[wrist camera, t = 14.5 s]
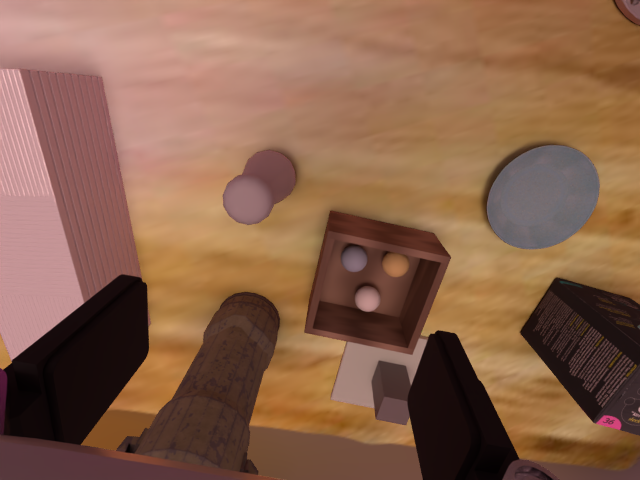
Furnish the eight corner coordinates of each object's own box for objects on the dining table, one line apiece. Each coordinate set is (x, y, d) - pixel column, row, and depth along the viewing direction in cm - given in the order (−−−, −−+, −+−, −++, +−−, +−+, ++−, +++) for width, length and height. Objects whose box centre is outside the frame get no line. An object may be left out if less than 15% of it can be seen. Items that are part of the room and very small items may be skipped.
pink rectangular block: (9, 75, 38) (-107, 67, 28) (103, 77, 38) (18, 68, 28) (80, 318, 50) (15, 372, 40) (151, 322, 50) (104, 377, 40)
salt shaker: (292, 143, 39) (271, 162, 27) (302, 191, 41) (287, 229, 29) (242, 153, 40) (201, 175, 28) (255, 200, 42) (222, 240, 30)
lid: (449, 339, 49) (468, 380, 41) (418, 410, 54) (430, 458, 47) (352, 319, 48) (354, 357, 41) (330, 393, 53) (329, 438, 46)
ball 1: (369, 244, 42) (371, 255, 39) (362, 267, 44) (364, 279, 41) (344, 238, 42) (344, 249, 39) (338, 261, 43) (337, 273, 41)
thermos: (288, 349, 50) (196, 808, 18) (207, 339, 50) (-33, 777, 18) (294, 297, 47) (193, 744, 14) (208, 286, 47) (-89, 705, 14)
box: (433, 233, 42) (451, 257, 36) (402, 320, 47) (412, 355, 41) (330, 210, 42) (328, 230, 35) (309, 300, 47) (304, 332, 40)
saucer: (501, 133, 38) (511, 135, 36) (605, 153, 38) (621, 156, 36) (465, 232, 42) (472, 239, 40) (559, 249, 43) (570, 257, 40)
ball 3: (410, 249, 42) (415, 260, 39) (402, 272, 44) (407, 284, 41) (384, 243, 42) (388, 254, 39) (377, 266, 43) (380, 278, 40)
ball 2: (381, 284, 44) (385, 297, 41) (375, 305, 46) (377, 319, 43) (357, 279, 44) (359, 291, 41) (351, 300, 45) (352, 313, 42)
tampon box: (517, 332, 47) (590, 426, 33) (554, 275, 44) (651, 353, 30) (591, 353, 48) (691, 454, 34) (632, 298, 44) (762, 386, 31)
